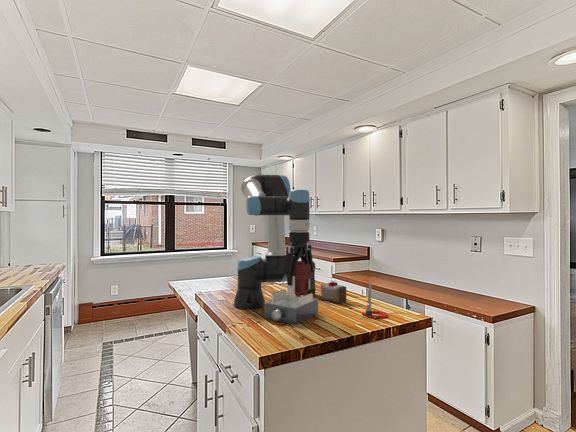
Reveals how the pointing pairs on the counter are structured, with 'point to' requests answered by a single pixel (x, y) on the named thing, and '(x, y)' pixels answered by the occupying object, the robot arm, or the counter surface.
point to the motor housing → (290, 307)
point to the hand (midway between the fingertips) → (299, 291)
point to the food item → (333, 292)
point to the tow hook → (368, 311)
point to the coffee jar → (312, 282)
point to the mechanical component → (302, 278)
